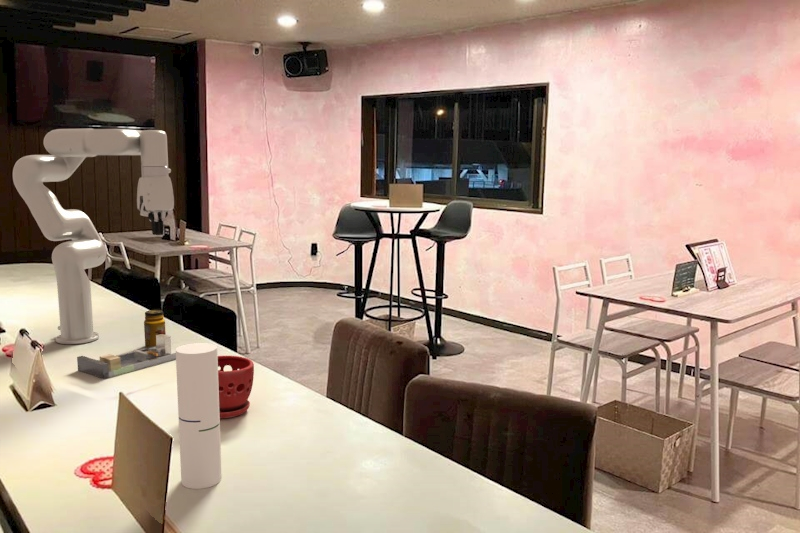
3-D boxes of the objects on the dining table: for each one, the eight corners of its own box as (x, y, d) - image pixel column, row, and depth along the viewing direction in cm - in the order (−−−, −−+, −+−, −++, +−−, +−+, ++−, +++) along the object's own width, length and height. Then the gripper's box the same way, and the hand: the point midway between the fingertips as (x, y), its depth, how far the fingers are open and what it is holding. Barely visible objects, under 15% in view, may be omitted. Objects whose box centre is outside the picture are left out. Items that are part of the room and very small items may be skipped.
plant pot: (203, 426, 155) (201, 374, 153) (191, 407, 167) (189, 358, 165) (261, 416, 161) (260, 366, 159) (246, 398, 173) (244, 351, 171)
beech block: (100, 369, 191) (99, 356, 191) (110, 366, 194) (109, 354, 193) (111, 372, 188) (110, 359, 188) (121, 369, 191) (120, 357, 190)
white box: (134, 358, 200) (133, 340, 199) (161, 351, 207) (160, 333, 206) (151, 363, 195) (150, 344, 194) (178, 356, 203) (177, 337, 202)
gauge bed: (78, 374, 190) (77, 357, 189) (154, 354, 209) (153, 338, 208) (104, 383, 183) (102, 364, 182) (180, 361, 202) (179, 344, 202)
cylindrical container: (185, 471, 133) (180, 343, 129) (224, 470, 134) (220, 342, 130) (177, 489, 126) (171, 354, 122) (218, 488, 127) (213, 353, 123)
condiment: (170, 350, 214) (168, 312, 212) (141, 355, 209) (139, 315, 207) (163, 345, 220) (161, 307, 218) (135, 349, 215) (133, 310, 213)
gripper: (168, 172, 216) (170, 231, 219) (124, 172, 204) (128, 235, 207) (184, 172, 212) (186, 233, 215) (140, 173, 200) (143, 237, 203)
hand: (157, 234), depth 211 cm, fingers closed
